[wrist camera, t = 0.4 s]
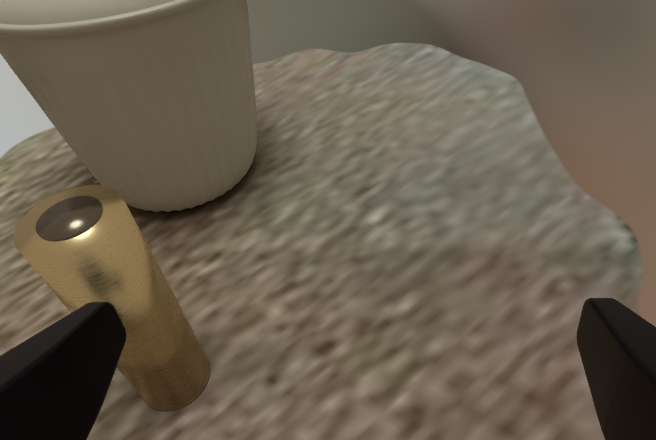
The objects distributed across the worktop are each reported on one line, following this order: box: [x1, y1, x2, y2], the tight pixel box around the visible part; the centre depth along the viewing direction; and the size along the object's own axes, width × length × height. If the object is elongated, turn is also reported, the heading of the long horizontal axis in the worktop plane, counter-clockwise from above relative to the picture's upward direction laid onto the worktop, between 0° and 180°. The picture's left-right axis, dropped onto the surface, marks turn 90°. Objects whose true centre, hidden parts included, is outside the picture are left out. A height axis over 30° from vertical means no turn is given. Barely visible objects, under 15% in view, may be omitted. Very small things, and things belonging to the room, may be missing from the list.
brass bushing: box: [14, 185, 210, 411], centre depth 21 cm, size 4×4×13 cm
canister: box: [0, 0, 257, 212], centre depth 33 cm, size 18×18×21 cm
